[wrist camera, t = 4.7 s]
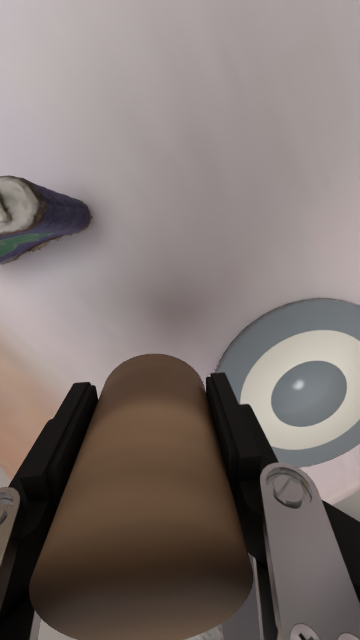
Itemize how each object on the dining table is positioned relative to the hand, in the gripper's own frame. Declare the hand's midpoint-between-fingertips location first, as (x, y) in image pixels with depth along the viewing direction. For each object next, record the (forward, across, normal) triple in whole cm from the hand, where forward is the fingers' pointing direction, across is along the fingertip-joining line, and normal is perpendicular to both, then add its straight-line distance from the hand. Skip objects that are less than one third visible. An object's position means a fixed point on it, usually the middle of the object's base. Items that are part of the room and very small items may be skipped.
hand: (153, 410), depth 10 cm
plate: (+13, -15, +10) cm, 22 cm away
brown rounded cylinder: (+1, 0, 0) cm, 1 cm away
